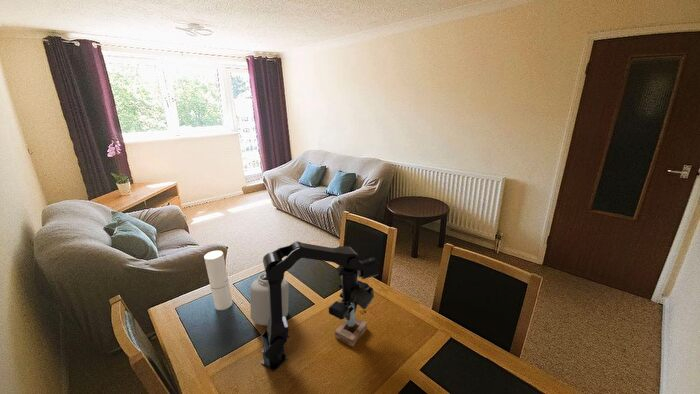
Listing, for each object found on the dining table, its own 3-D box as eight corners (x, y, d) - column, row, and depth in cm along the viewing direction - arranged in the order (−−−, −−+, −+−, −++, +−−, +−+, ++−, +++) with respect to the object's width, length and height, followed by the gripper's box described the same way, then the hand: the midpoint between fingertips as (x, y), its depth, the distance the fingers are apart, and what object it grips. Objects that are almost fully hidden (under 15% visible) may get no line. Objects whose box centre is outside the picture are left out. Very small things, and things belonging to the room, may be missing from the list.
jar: (270, 297, 128) (263, 249, 120) (299, 303, 124) (294, 253, 116) (244, 328, 111) (234, 273, 103) (276, 336, 107) (268, 280, 99)
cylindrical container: (235, 299, 128) (226, 250, 120) (227, 310, 121) (217, 259, 113) (220, 298, 129) (210, 250, 120) (211, 309, 122) (200, 259, 114)
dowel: (352, 327, 104) (351, 307, 101) (345, 324, 105) (344, 304, 103) (356, 322, 106) (355, 302, 103) (349, 319, 108) (349, 300, 105)
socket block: (353, 346, 101) (353, 340, 100) (335, 337, 105) (334, 331, 105) (367, 328, 109) (367, 322, 108) (349, 320, 113) (349, 314, 112)
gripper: (354, 304, 88) (355, 343, 93) (382, 275, 103) (381, 310, 108) (326, 293, 94) (328, 330, 99) (356, 266, 109) (356, 300, 114)
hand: (350, 317), depth 105 cm, fingers closed on dowel, 3 cm apart
